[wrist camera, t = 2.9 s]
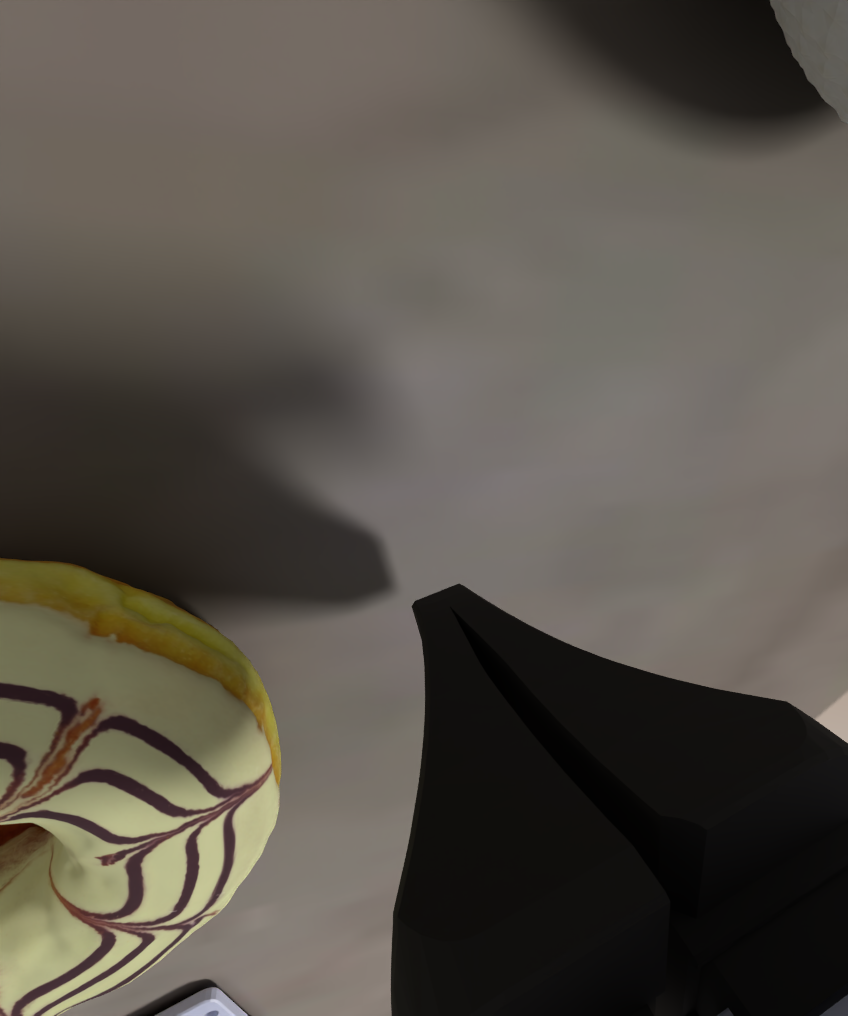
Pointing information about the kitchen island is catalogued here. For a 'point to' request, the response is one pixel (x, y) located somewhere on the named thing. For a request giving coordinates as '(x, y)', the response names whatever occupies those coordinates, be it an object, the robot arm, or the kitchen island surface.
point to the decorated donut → (118, 781)
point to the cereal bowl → (819, 45)
